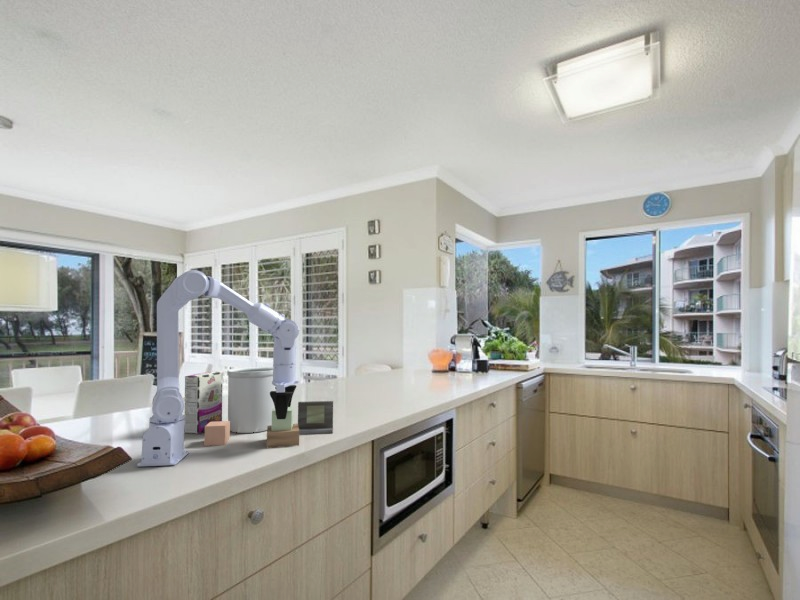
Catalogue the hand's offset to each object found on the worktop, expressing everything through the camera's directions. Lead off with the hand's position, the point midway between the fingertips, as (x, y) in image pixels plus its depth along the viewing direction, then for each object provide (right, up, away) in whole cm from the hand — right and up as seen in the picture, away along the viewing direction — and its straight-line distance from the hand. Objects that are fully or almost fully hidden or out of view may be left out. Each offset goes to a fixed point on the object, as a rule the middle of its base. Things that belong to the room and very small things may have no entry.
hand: (283, 415), depth 110 cm
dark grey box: (+6, -8, +11) cm, 15 cm away
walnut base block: (0, -7, 0) cm, 7 cm away
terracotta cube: (-17, -7, -1) cm, 18 cm away
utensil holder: (-13, -8, +15) cm, 21 cm away
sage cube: (0, -3, 0) cm, 3 cm away
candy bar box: (-27, -8, +13) cm, 31 cm away
